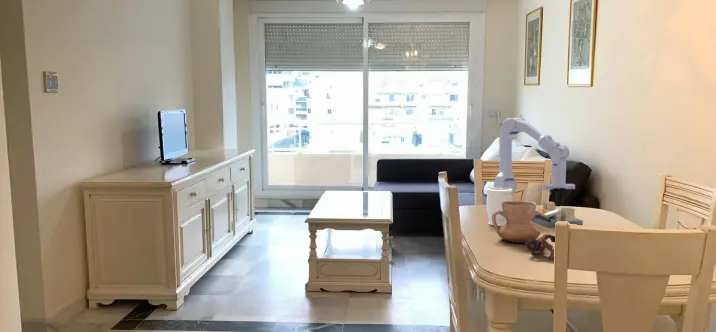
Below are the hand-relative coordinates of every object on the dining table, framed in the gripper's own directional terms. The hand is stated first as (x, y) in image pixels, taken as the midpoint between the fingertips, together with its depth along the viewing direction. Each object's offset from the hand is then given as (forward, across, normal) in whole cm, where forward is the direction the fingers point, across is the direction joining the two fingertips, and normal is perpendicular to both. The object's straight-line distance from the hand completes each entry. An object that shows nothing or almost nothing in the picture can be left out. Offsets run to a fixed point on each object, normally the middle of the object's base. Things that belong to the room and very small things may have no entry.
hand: (557, 206), depth 246 cm
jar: (+7, -27, 0) cm, 27 cm away
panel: (+7, -2, 0) cm, 7 cm away
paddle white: (+4, -2, 0) cm, 5 cm away
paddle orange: (+4, -3, +3) cm, 6 cm away
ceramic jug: (+7, -33, -28) cm, 44 cm away
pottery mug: (+7, -34, -50) cm, 61 cm away
